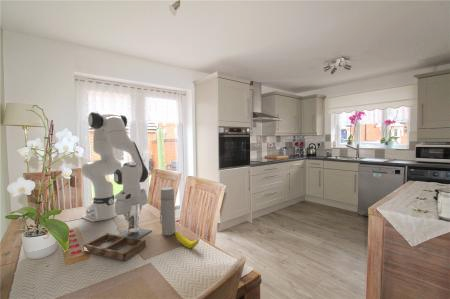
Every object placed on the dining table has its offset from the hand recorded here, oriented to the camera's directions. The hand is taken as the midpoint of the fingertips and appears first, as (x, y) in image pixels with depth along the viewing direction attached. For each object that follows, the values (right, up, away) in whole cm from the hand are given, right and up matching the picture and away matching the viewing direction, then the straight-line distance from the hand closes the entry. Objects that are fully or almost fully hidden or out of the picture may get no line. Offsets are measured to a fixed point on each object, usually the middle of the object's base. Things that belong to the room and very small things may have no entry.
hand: (133, 217), depth 116 cm
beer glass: (0, -8, 0) cm, 8 cm away
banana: (+32, -10, -14) cm, 36 cm away
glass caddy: (-2, -10, -15) cm, 18 cm away
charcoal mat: (0, -10, 0) cm, 10 cm away
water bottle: (+19, -9, +1) cm, 21 cm away
